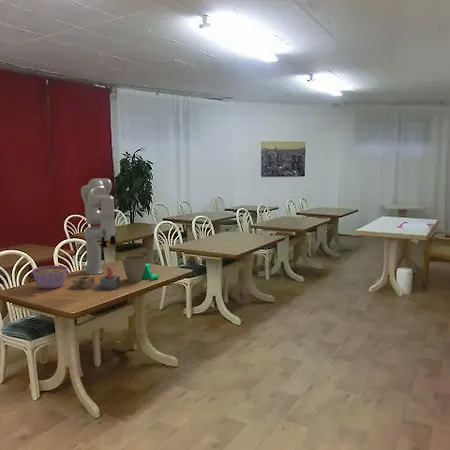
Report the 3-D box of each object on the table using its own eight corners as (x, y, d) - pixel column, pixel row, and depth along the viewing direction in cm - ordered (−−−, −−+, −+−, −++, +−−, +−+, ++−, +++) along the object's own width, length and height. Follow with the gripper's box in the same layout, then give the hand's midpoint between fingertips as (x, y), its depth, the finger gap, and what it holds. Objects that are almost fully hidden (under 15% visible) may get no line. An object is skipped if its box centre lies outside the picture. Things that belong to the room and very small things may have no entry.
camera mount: (159, 278, 305) (159, 263, 304) (151, 281, 299) (151, 265, 298) (145, 276, 312) (145, 261, 310) (137, 278, 305) (137, 263, 304)
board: (70, 290, 276) (70, 288, 276) (78, 285, 288) (78, 283, 288) (117, 292, 274) (117, 290, 274) (122, 286, 286) (122, 284, 286)
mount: (73, 288, 277) (72, 280, 276) (78, 284, 286) (78, 276, 285) (89, 288, 277) (89, 280, 276) (94, 284, 286) (94, 276, 285)
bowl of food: (75, 286, 285) (74, 268, 283) (48, 294, 268) (47, 275, 266) (53, 281, 295) (52, 264, 293) (25, 289, 278) (24, 270, 276)
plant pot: (122, 285, 288) (121, 260, 286) (123, 279, 303) (122, 255, 300) (146, 284, 291) (146, 259, 288) (146, 278, 305) (146, 254, 303)
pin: (106, 287, 279) (105, 267, 277) (109, 285, 283) (109, 266, 281) (111, 288, 278) (111, 268, 276) (114, 286, 282) (114, 267, 280)
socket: (100, 289, 276) (100, 279, 275) (105, 284, 285) (104, 275, 284) (115, 289, 276) (115, 279, 275) (119, 285, 285) (119, 275, 284)
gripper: (110, 215, 285) (110, 242, 287) (94, 218, 268) (95, 248, 271) (121, 215, 282) (121, 243, 285) (105, 219, 266) (106, 249, 269)
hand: (108, 245), depth 278 cm, fingers open, 9 cm apart
